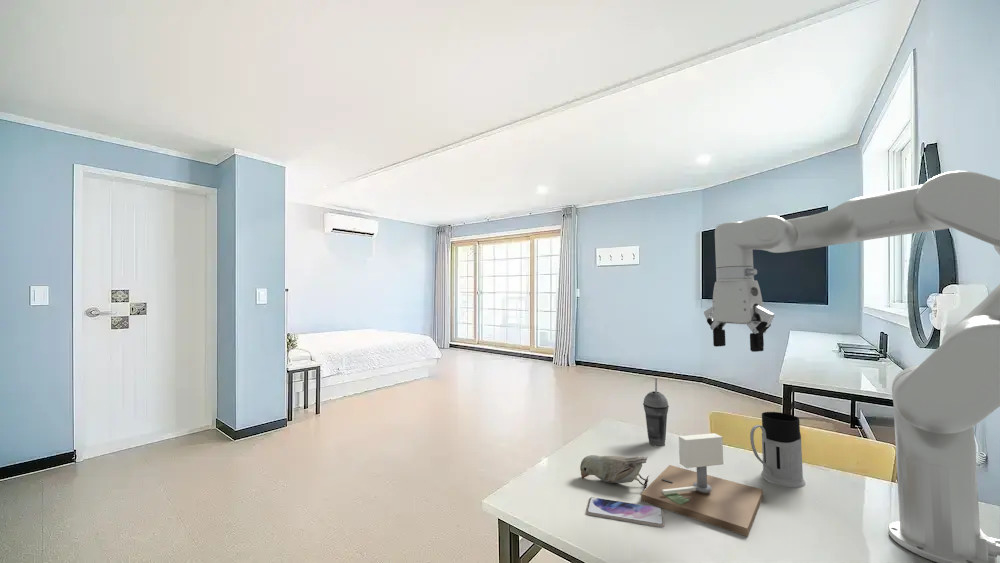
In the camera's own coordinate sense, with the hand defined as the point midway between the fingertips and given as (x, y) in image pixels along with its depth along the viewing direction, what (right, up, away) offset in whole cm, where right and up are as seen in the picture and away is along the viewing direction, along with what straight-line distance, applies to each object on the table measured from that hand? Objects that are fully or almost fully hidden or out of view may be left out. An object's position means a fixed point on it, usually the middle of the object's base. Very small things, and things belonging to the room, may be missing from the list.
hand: (737, 348), depth 91 cm
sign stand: (-13, -31, -5) cm, 34 cm away
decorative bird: (-28, -33, +3) cm, 44 cm away
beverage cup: (-8, -34, +27) cm, 44 cm away
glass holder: (+11, -33, +3) cm, 34 cm away
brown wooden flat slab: (-11, -32, -5) cm, 34 cm away
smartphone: (-29, -33, -10) cm, 45 cm away
